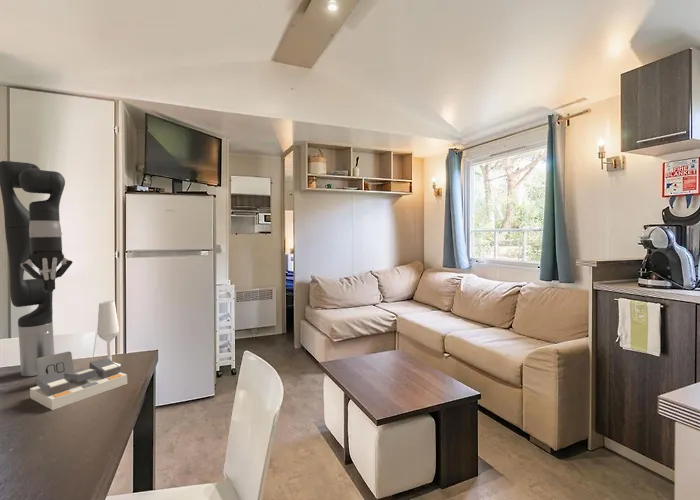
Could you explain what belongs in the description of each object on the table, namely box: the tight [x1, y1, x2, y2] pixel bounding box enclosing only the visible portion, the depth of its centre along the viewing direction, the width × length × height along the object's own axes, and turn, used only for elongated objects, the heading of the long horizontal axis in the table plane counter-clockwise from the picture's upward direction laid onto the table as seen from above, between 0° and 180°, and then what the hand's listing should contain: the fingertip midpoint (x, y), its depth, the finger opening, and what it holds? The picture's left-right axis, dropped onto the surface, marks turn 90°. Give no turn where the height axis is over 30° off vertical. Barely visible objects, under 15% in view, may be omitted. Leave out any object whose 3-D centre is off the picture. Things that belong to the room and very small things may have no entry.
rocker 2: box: [88, 357, 121, 378], centre depth 118 cm, size 9×5×2 cm, turn 60°
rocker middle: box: [64, 367, 97, 382], centre depth 112 cm, size 9×5×2 cm, turn 59°
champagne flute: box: [96, 300, 121, 367], centre depth 132 cm, size 7×7×24 cm
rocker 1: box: [35, 372, 70, 395], centre depth 106 cm, size 9×5×2 cm, turn 60°
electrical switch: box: [36, 351, 75, 377], centre depth 120 cm, size 9×5×9 cm, turn 141°
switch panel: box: [29, 371, 129, 411], centre depth 112 cm, size 15×20×4 cm
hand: (48, 291), depth 112 cm, fingers closed
